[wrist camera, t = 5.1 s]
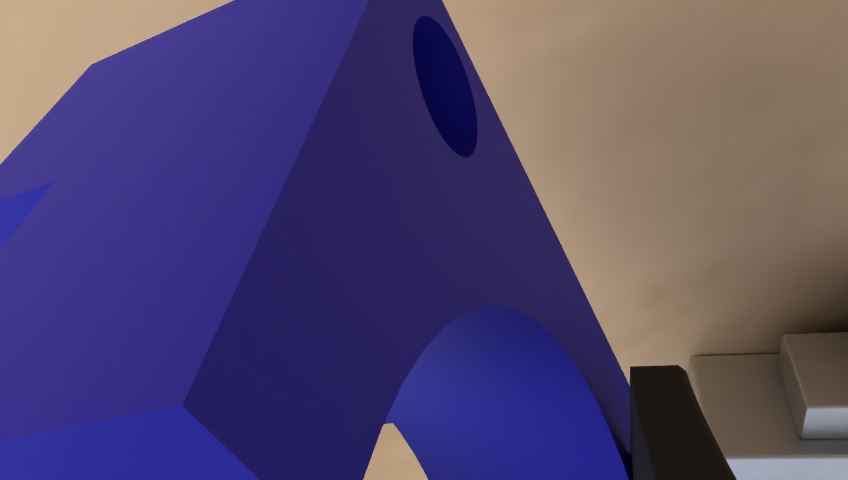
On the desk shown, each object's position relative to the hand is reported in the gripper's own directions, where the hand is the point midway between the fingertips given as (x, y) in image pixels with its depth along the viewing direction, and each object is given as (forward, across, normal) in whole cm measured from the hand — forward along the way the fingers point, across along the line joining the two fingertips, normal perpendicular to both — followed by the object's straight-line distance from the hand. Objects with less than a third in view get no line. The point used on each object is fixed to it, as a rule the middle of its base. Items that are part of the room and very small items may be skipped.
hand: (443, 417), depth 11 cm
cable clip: (+2, 0, 0) cm, 2 cm away
